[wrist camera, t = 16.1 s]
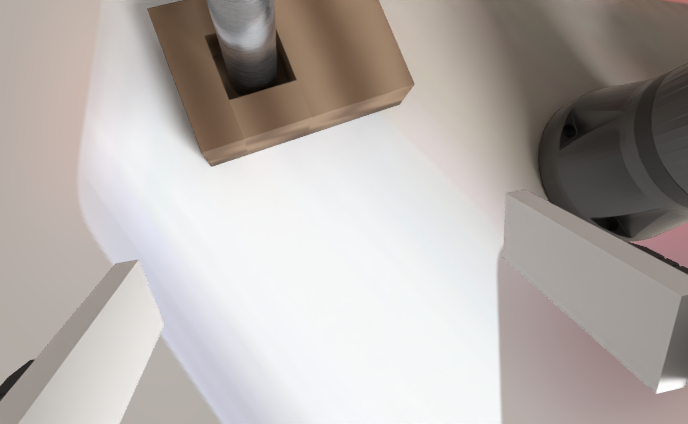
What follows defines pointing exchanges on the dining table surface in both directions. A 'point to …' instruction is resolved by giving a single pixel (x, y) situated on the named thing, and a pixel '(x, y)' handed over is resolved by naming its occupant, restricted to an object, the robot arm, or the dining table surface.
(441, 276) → the dining table surface
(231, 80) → the metal peg
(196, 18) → the tool block
